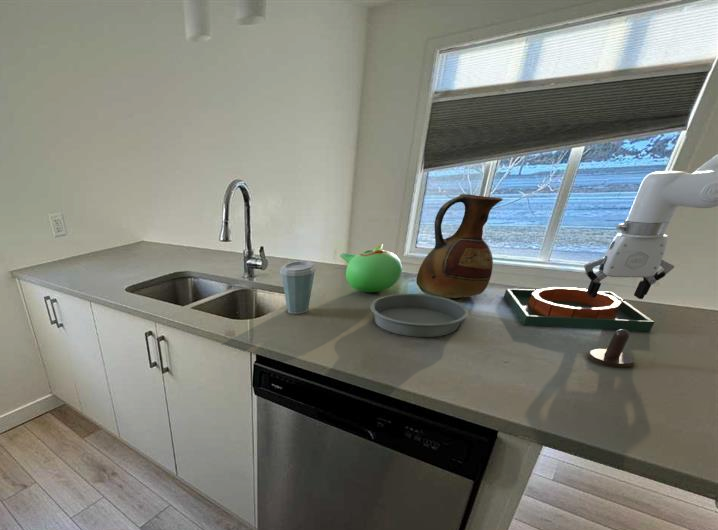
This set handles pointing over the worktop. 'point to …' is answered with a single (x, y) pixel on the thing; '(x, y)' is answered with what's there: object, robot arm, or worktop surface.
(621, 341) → the post
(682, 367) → the worktop surface
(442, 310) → the cake pan
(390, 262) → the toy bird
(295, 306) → the disposable coffee cup
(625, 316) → the tray
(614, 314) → the ring
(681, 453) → the worktop surface
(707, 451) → the worktop surface
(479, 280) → the ceramic pitcher
